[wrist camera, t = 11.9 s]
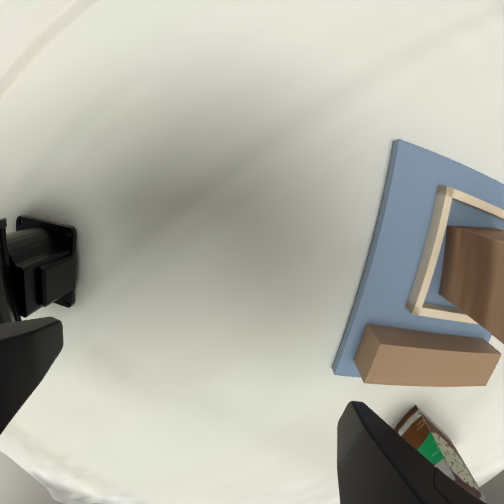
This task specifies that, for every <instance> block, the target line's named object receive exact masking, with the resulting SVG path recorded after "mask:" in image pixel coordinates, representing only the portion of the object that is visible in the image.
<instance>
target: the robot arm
mask: <svg viewBox="0 0 504 504" xmlns="http://www.w3.org/2000/svg"><path fill="white" fill-rule="evenodd" d="M21 220H22V223H21ZM5 227H7V224H6V218H2V219H0V435H1V433H2V432H3V430H4V429H5V428H6V426H7V425H8V424H9V422H10V421H11V420H12V418H13V417H14V416H15V414H16V413H17V412H18V410H19V409H20V408H21V406H22V405H23V404H24V403H25V401H26V400H27V399H28V398H29V396H30V395H31V394H32V392H33V391H34V390H35V389H36V387H37V386H38V385H39V384H40V382H41V381H42V379H43V378H44V376H45V375H46V373H47V372H48V370H49V368H50V367H51V365H52V364H53V362H54V361H55V359H56V358H57V356H58V355H59V353H60V352H61V350H62V348H63V326H62V322H61V321H60V320H58V319H55V318H53V317H45V318H38V319H31V320H24V321H22V320H21V316H23V317H27V316H29V315H30V314H32V313H33V312H35V311H37V310H38V309H40V308H41V307H46V306H48V305H50V304H51V303H53V302H54V303H56V304H59V305H62V306H65V307H68V308H69V307H71V306H73V305H74V302H75V299H74V288H75V270H76V257H75V247H76V230H75V229H74V227H71V226H67V225H63V224H58V223H54V222H49V221H45V220H41V219H36V218H32V217H28V216H19V217H17V220H16V232H12V233H8V234H6V228H5ZM69 231H70V232H71V236H70V235H69ZM67 299H68V300H69V302H70V303H69V302H68V300H67ZM337 473H338V483H339V494H340V504H487V503H485V502H484V501H482V500H480V499H479V498H477V497H476V496H474V495H473V494H471V493H470V492H468V491H467V490H466V489H464V488H463V487H461V486H460V485H458V484H457V483H456V482H454V481H453V480H452V479H451V478H449V477H448V476H447V475H446V474H444V473H443V472H442V471H441V470H440V469H438V468H437V467H435V465H434V464H433V463H431V462H430V461H429V460H428V459H427V458H426V457H424V456H423V455H422V454H421V453H420V452H419V451H417V450H416V449H415V448H414V447H413V446H412V445H411V444H409V443H408V442H407V441H406V440H405V439H404V438H403V437H401V436H400V435H399V434H398V433H397V432H396V431H395V430H394V429H392V428H391V427H390V426H389V425H388V424H387V423H386V422H385V421H383V420H382V419H381V418H380V417H379V416H378V415H377V414H376V413H375V412H373V411H372V410H371V409H370V408H369V407H368V406H367V405H366V404H365V403H363V402H358V401H351V402H349V403H348V405H347V406H346V408H345V410H344V412H343V414H342V416H341V418H340V419H339V422H338V427H337Z"/></svg>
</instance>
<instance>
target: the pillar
mask: <svg viewBox="0 0 504 504" xmlns="http://www.w3.org/2000/svg"><path fill="white" fill-rule="evenodd" d="M439 295H441V296H442V297H443V298H445V299H446V300H447V301H449V302H450V303H451V304H453V305H454V306H456V307H457V308H458V309H460V310H461V311H462V312H464V313H465V314H466V315H467V316H469V317H470V318H471V319H473V320H474V321H475V322H477V323H478V324H479V325H480V326H482V327H483V328H484V329H486V330H487V331H488V332H489V333H491V334H492V335H493V336H494V337H496V338H497V339H498V340H499V341H501V342H502V343H503V344H504V230H501V229H497V228H491V227H470V226H447V228H446V240H445V250H444V259H443V267H442V275H441V282H440V288H439Z"/></svg>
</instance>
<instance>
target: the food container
mask: <svg viewBox="0 0 504 504" xmlns="http://www.w3.org/2000/svg"><path fill="white" fill-rule="evenodd" d="M395 431H396V432H397V433H398V434H399V435H400V436H401V437H403V438H404V439H405V440H406V441H407V442H408V443H409V444H411V445H412V446H413V447H414V448H415V449H416V450H417V451H419V452H420V453H421V454H422V455H423V456H424V457H426V458H427V459H428V460H429V461H430V462H431V463H433V464H434V465H435V467H437V468H438V469H440V470H441V471H442V472H443V473H444V474H446V475H447V476H448V477H449V478H451V479H452V480H453V481H454V482H456V483H457V484H458V485H460V486H461V487H463V488H464V489H466V490H467V491H468V492H470V493H471V494H473V495H474V496H476V497H477V498H479V499H480V500H482V501H484V502H485V501H486V499H485V497H484V495H483V493H482V491H481V489H480V488H479V487H478V485H477V483H476V482H475V480H474V478H473V476H472V475H471V473H470V471H469V470H468V468H467V466H466V465H465V463H464V461H463V460H462V458H461V456H460V455H459V453H458V451H457V450H456V448H455V447H454V445H453V443H452V442H451V440H450V439H449V437H448V436H447V435H446V434H445V433H444V432H443V431H442V430H441V429H440V428H439V427H438V426H437V425H436V424H435V423H434V422H433V421H432V420H431V419H429V418H428V417H427V416H426V415H425V414H424V413H423V412H422V411H421V410H420V409H419V408H418V407H417V406H415V407H413V408H412V409H411V410H410V411H409V412H408V413H407V414H406V415H405V416H404V417H403V419H402V420H401V421H400V422H399V423H398V425H397V427H396V429H395Z"/></svg>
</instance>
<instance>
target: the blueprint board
mask: <svg viewBox="0 0 504 504" xmlns="http://www.w3.org/2000/svg"><path fill="white" fill-rule="evenodd" d="M447 226H470V227H491V228H497V229H501V230H504V184H502V183H500V182H498V181H496V180H494V179H492V178H490V177H488V176H486V175H484V174H482V173H480V172H478V171H476V170H473V169H471V168H469V167H467V166H465V165H463V164H460V163H458V162H456V161H454V160H451V159H449V158H447V157H444V156H442V155H439V154H437V153H434V152H432V151H429V150H427V149H424V148H422V147H419V146H416V145H414V144H411V143H408V142H406V141H403V140H400V139H398V140H395V141H393V147H392V153H391V158H390V164H389V169H388V174H387V179H386V184H385V189H384V194H383V198H382V203H381V207H380V212H379V216H378V220H377V224H376V228H375V232H374V236H373V240H372V244H371V248H370V252H369V255H368V259H367V263H366V266H365V270H364V273H363V277H362V280H361V283H360V287H359V290H358V293H357V297H356V300H355V303H354V306H353V309H352V312H351V315H350V318H349V321H348V324H347V327H346V330H345V333H344V336H343V339H342V342H341V345H340V347H339V350H338V353H337V356H336V358H335V361H334V364H333V366H332V369H333V372H334V375H341V376H351V377H361V378H362V380H363V382H364V383H370V384H384V385H401V386H433V387H461V386H486V384H487V382H488V380H489V378H490V376H491V375H492V373H493V371H494V369H495V367H496V365H497V363H498V361H499V358H500V356H501V353H500V352H499V351H497V350H496V349H495V348H494V347H493V346H492V345H490V344H489V343H488V342H489V340H490V337H491V335H492V334H491V333H489V332H488V331H487V330H486V329H484V328H483V327H482V326H480V325H479V324H478V323H477V322H475V321H474V320H473V319H471V318H470V317H469V316H467V315H466V314H465V313H464V312H462V311H461V310H460V309H458V308H457V307H456V306H454V305H453V304H451V303H450V302H449V301H447V300H446V299H445V298H443V297H442V296H441V295H439V288H440V282H441V275H442V267H443V259H444V250H445V240H446V228H447Z"/></svg>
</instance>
